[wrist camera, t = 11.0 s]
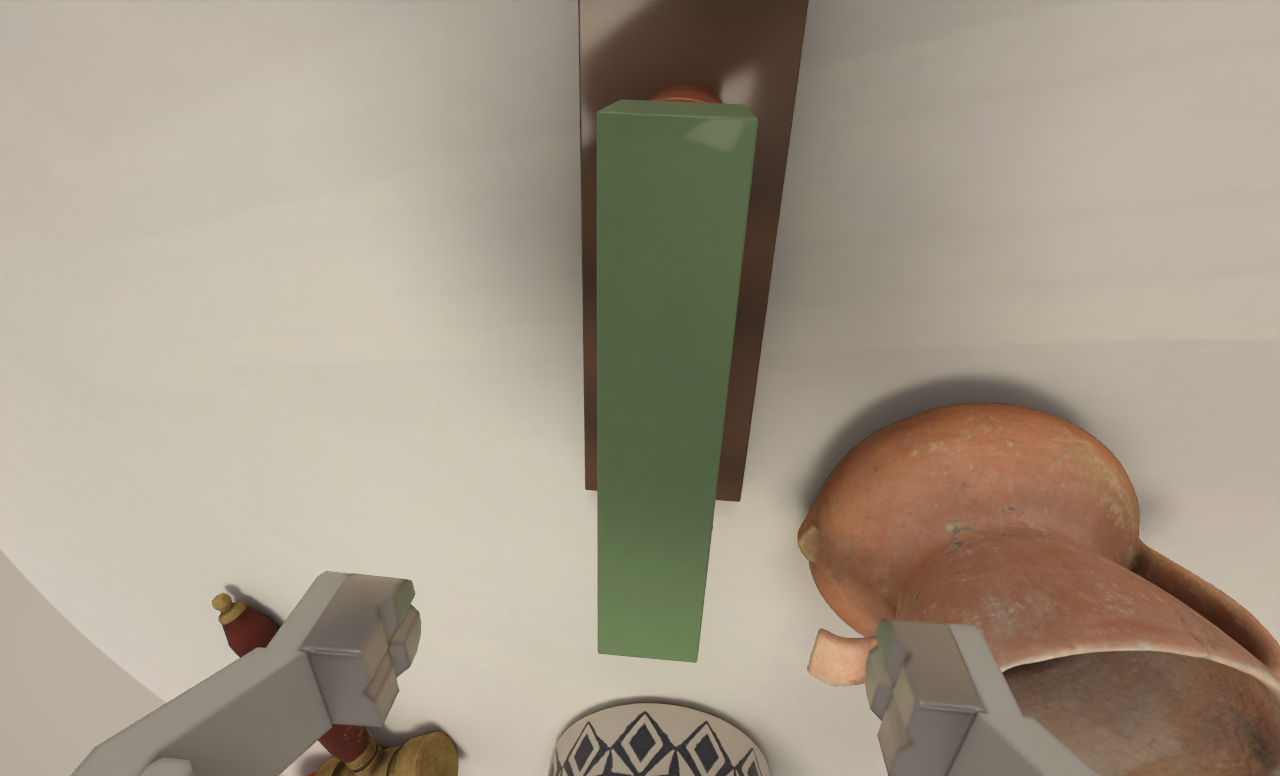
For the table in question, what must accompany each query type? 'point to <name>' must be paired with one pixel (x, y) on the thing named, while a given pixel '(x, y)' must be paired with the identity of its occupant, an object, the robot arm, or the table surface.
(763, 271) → the rod stand
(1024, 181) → the table surface
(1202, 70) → the table surface
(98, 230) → the table surface
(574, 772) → the planter
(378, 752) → the gavel
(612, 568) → the bar
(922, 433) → the ceramic jug
